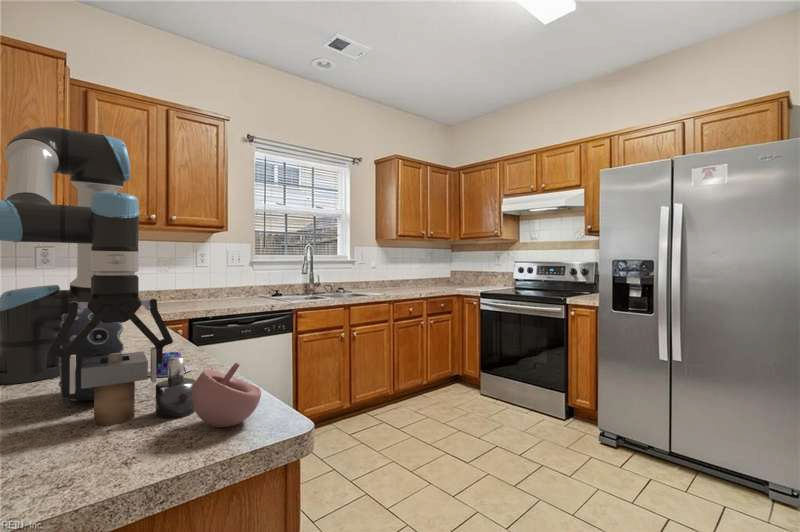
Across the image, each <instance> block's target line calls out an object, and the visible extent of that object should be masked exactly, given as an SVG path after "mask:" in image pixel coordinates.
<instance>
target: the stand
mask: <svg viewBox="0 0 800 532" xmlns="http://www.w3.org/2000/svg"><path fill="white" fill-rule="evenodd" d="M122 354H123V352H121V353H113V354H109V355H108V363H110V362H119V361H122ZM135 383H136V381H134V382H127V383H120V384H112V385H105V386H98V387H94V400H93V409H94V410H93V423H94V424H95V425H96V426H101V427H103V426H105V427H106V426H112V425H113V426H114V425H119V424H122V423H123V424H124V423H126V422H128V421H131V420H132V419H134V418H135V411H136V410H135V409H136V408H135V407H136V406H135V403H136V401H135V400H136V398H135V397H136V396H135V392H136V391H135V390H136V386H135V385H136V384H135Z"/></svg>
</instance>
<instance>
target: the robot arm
mask: <svg viewBox="0 0 800 532" xmlns="http://www.w3.org/2000/svg"><path fill="white" fill-rule="evenodd" d="M128 152H129V151H128V148H127V145H126V143H125V142H124V140H122V139H120V138H118V137H112V136H109V135H105V134H98V133H92V132H86V131H78V130H73V129H67V128H62V127H56V126H41V127H35V128H31V129H28V130H24V131H23V132H20V133H18V134H17V135H15V136H14V137H13V138H12V139H10V141H8V143H7V145H6V147H5V151H4V158H5V161H6V164H7V165H8V171H7V172H8V173H7V178H6V184H5V192H4V199H0V242H1V241H2V242H13V243H52V244H53V243H59V244H61V243H62V244H77V248H76V249H77V250H76V251H77V253H76V258H77V259H76V263H77V264H76V265H77V266H76V277H75V278H74V279H73V280H72V281H70V282H69V289H61V287H60V285H58V284H49V285H39V286H31V287H30V286H29V287H23V288H16V289H11V290H7V291H6V290H5V291H4V292H2V294H0V385H6V384H7V385H8V384H11V385H12V384H22V383H30V382H37V381H42V380H47V379H51V378H55V377H58V376H59V377H60V367H59V366H58V363H59V362H60V357H61V359H62V374H63V375H70V394H74V393H75V391H76V355H71V354H72V353H73V352H74V351H75V349H76V348H77V347H78V346H79V345H80V344H81V343H82V341H83V340H84V339H85V338H86V337H87V336H88V335H89V334H90V332H91V331H92V330H93V329H94V328H95V327H96V326H97V325H98V324H99V323H100V322H103V323H113V322H120V323H121V324H122V325H123V323H126V322H128V321H131V322H132V323H133V324H134V325H135V327H136V328H137V329H139V332H141V333H142V334H143V335H144V336H145V337H146V339H148V340H149V341H150V342H151V344H153V345H154V346H152V347H150V368H149V369H150V376H149V377H150V381H151V383H157V376H156V364H161V363H162V361H163V353H164V352H163V350H164V349H163V348H164V347H165V346H168V345H172V344H173V343H174V339H173V337H172V335H171V333H170V332H169V330H168V328H167V325H166V323H165V322H164V320H163V317H162V316H161V314H160V312H159V309H158V300H157V299H155V298H154V297H152V298H151V297H150V298H148V299H140V296H139V287H140V286H139V281H140V279H139V276H138V274H136V273H138V272H139V270H140V269H139V261H140V259H139V258H140V255H139V233H140V232H139V231H140V229H139V228H140V227H139V224H140V220H139V219H140V215H141V211H140V209H139V208H140V206H139V205H140V204H139V199H138V197H136V195H133V194H131V193H130V194H129V193H124V192H123V193H122V192H119V191H121V190H122V189H124V183H126V182H127V183H128V182H130V180H131V165H130V164H131V163H130V158H129V153H128ZM54 174H61V175H67V176H70V183H71V184H72V185H73V186H74V187H75V188H76V189H77V205H65V204H55V198H54V197H55V192H54V188H55V187H54V185H55V184H54V180H55V179H54V178H55V177H54ZM141 306H142V307H144V309H146V310H147V311H150V314H151V317H152V318H153V320H154V322H155V324H156V326H157V328H158V330H159V332H160V335H161V336H162V339H159V338H158V337H157V335H155V334H154V332H152V331H151V329H150V328H149V327H148V326H147V325H146V324H145V323H144V322H143V321H142V320H141V319H140V318H139V317H138V315H137V314H136V313H137V311H138V310H139V309H140V307H141ZM85 308H88V309H89V310H90V311H91V312H92V313H93V314H94V315H95V316H94V317H93V318H92V319H91V320H90V321H89V323H88V324H87V325H86V326H85V327H84V328H83V329H82V330H81V332H80V333H79V334H78V335H77V336H76V337H75V338H74V339H73V340H72V342H71V343H70V344H69V345H68V346H67V347H66V348H65V349H63V348H60V347H61V345H62V343H63V341H64V339H65V337H66V335H67V333H68V332H69V330H70V328H71V326H72V324H73V322H74V320H75V318H76V316H77V314H80V313H82V312H83V310H84V309H85ZM67 313H69V315H68V317H67V319H66V320H65V322H64V324H63V326H62V328H61V326H60V323H61V322H62V318H61V316H62V315H63V314H67Z"/></svg>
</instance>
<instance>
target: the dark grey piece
mask: <svg viewBox="0 0 800 532" xmlns="http://www.w3.org/2000/svg"><path fill="white" fill-rule="evenodd" d="M68 315H69V313H67V314H63V315H62V316H61V318H62V322H61V323H60V326H61V328H62V326H63V324H64V322H65V320H66V319H67V317H68ZM94 316H95V315H94V314H93V313H92V312H91V311H90V310H89V309H88V308H85V309H84V310H83V312H82V313H80V314H77V316H76V318H75V320H74V322H73V324H72V326H71V328H70V330H69V332H68V333H67V335H66V337H65V339H64V341H63V343H62V345H61V347H60V348H63V349H65V348H66V347H67V346H68V345H69V344H70V343H71V342H72V340H73V339H74V338H75V337H76V336H77V335H78V334H79V333H80V332H81V330H82V329H83V328H84V327H85V326H86V325H87V324H88V323H89V321H90V320H91V319H92V318H93V317H94ZM123 331H124V325H123V323H122V324H121V323H120V322H113V323H103V322H100V323H99V324H98V325H97V326H96V327H95V328H94V329H93V330H92V331H91V332H90V334H89V335H88V336H87V337H86V338H85V339H84V340H83V341H82V343H81V344H80V345H79V346H78V347H77V348H76V349H75V351H74V352H73V353H72V354H71V355H76V391H75V393H74V394H70V375H63V374H62V359H61V357H60V362H59V363H58V366H59V367H60V375H59V382H58V386H59V388H60V393H59V397H60V398H63V399H65V400H71V401H73V402H76V401H77V402H78V401H82V402H83V401H84V402H85V401H94V387H91V388H83V389H81V367H82V361H83V358H85V357H95V356H105V355H109V354H113V353H123V351H124V350H125V349H124V346H125V345H124V343H123V342H122V341H121V334H122V332H123Z"/></svg>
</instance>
